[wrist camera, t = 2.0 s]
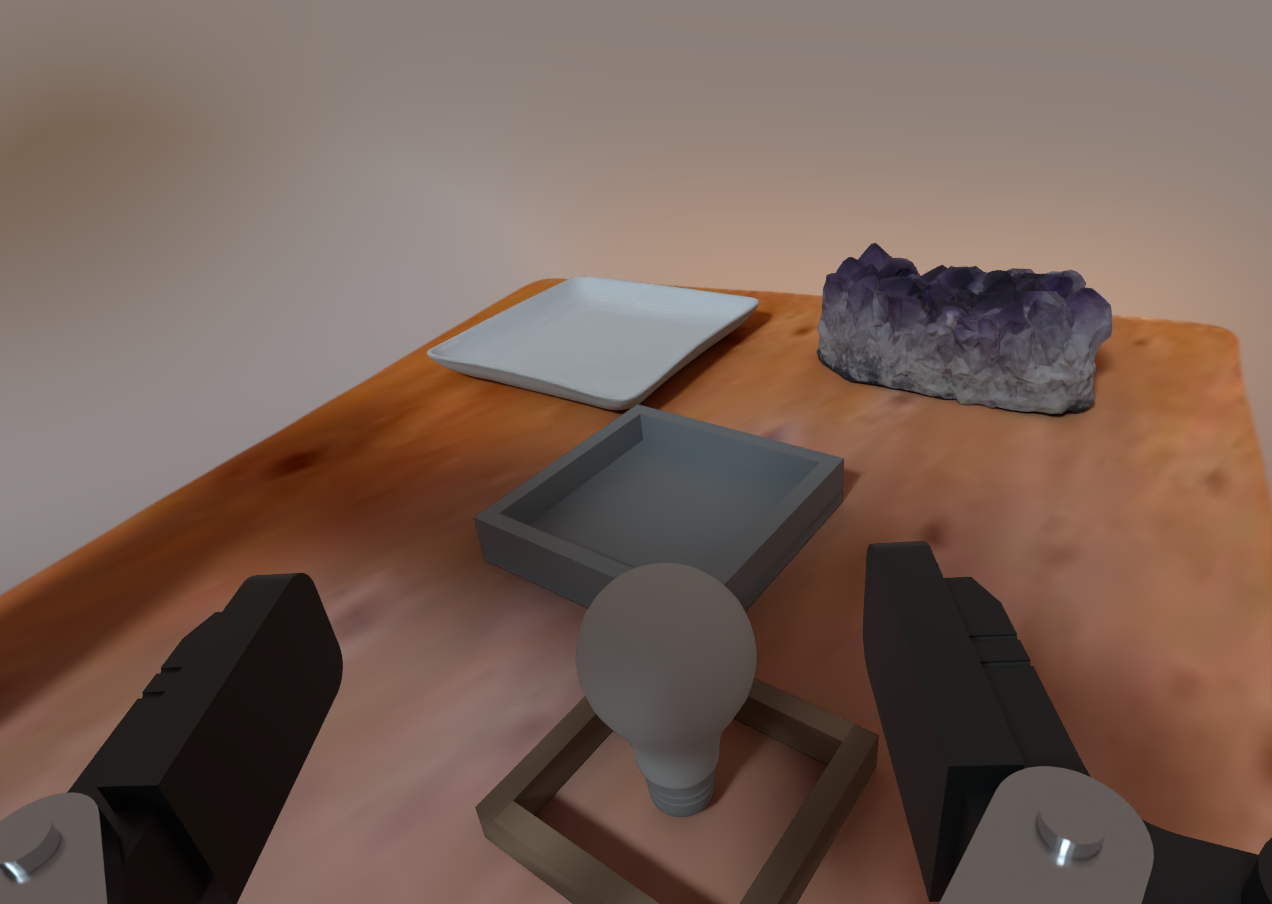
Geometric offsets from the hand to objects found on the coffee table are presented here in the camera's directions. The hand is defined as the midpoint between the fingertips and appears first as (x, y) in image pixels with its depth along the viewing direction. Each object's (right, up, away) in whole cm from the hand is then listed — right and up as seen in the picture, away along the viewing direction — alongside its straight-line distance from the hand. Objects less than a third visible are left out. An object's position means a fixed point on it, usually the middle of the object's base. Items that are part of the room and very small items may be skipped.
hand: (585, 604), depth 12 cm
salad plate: (-2, +10, +58) cm, 59 cm away
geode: (+24, +8, +48) cm, 54 cm away
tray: (+3, -2, +35) cm, 35 cm away
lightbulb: (+3, -12, +20) cm, 23 cm away
